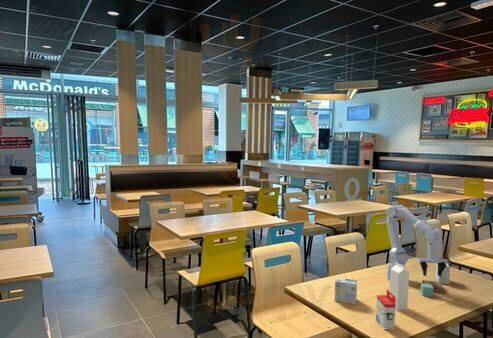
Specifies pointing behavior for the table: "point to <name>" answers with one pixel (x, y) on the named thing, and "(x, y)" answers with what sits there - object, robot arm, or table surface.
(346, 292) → the light bulb box
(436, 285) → the walnut slab
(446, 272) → the small box
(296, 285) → the table surface
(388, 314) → the ink box
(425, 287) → the teal block
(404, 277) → the milk
